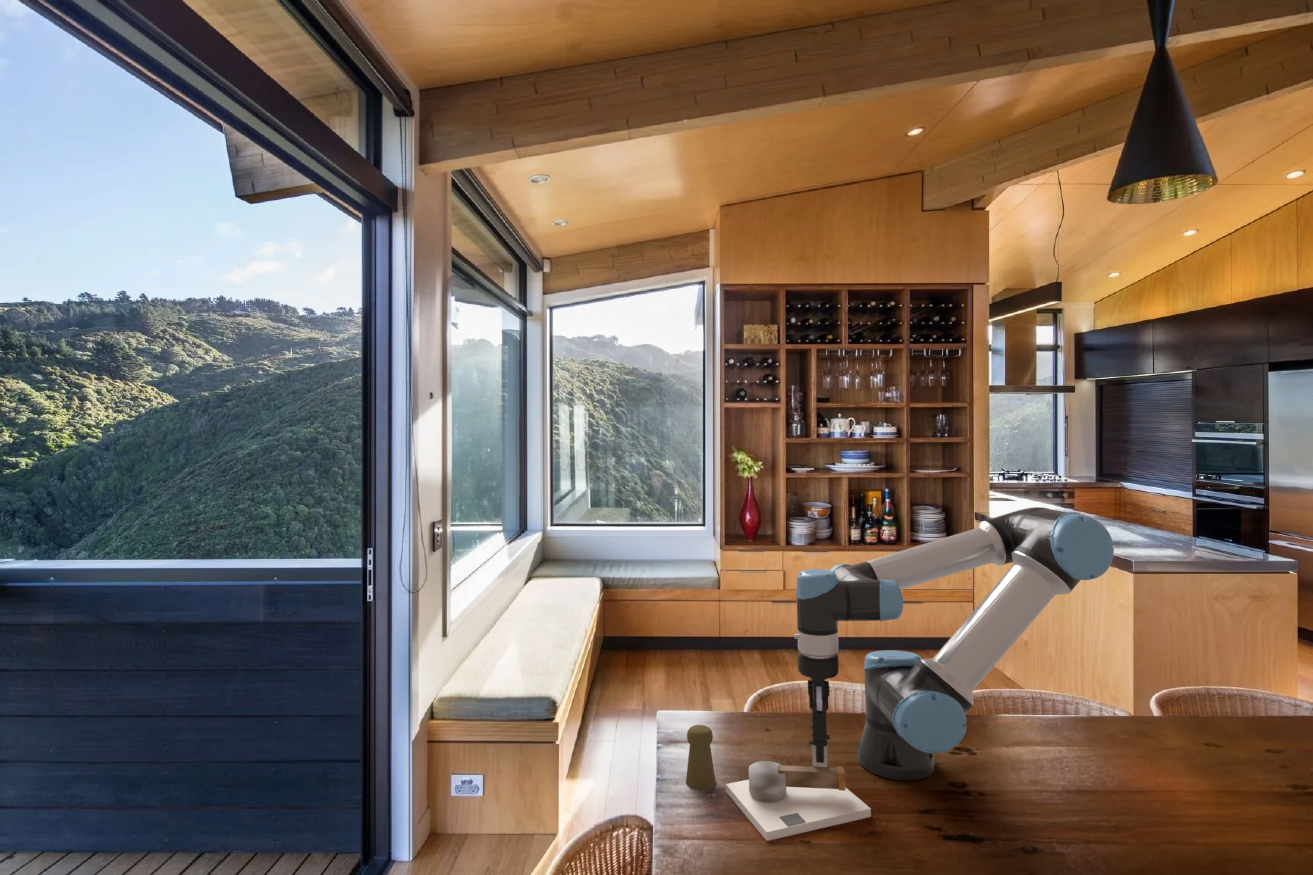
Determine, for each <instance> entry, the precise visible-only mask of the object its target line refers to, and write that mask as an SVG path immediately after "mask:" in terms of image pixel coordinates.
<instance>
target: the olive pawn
mask: <svg viewBox="0 0 1313 875" xmlns="http://www.w3.org/2000/svg"><path fill="white" fill-rule="evenodd" d="M713 738H714V736H713V730H712V729H711V728H710V727H708V726H707V725H705V724H694V725H692V726H690V727H689V728H688V730H687V732H686V739H687V743H688V744H689V749H688V750H689V751H688V759H687V769H686V777H685V785H686V786H687V787H689V788H691V789H693V790H695V791H696V790H697V791H705V790H710V789H712V788H713V787H714V786H715V785H716V783H717V780H716V775H715V769H714V762H713V754H712V748H711V744H712V742H713Z"/></svg>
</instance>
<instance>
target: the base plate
mask: <svg viewBox="0 0 1313 875" xmlns="http://www.w3.org/2000/svg"><path fill="white" fill-rule="evenodd" d="M725 792H726V794H727V795H728V796H729V797H730V799H731V800H732V801H733V802H734V804H736V806H737V807H738V808H739V809H740V810H741V812H742V813H743V814H744V815H745V816H746V818H747V819H748V821H750V823H752V825H753V826H754V827H755V829H756V830H757V831H758V832H759V833H760V835H761V836H762V837H763V838H764V839H765V841H767V842H768V841H772V840H777V839H781V838H785V837H790V836H794V835H799V834H802V833H807V832H811V831H816V830H820V829H824V828H828V827H833V826H838V825H841V824H846V823H851V822H854V821H859V820H863V819H867V818H871V817H872V808H871V807H869V806H868V804H866V803H865V802H863V800H861V799H860V798H859V797H857V795H855V794H854V793H853V792H852V791H851V790H850V789H848V788H847V787H846V786H845V791H843V790H839V789H824V788H802V787H786V796H785V797H784V798H782V799H780V800H776V801H764V800H760V799H757V798H755V797H753V796H752V795H751V794H750V792H749V779H743V780H741V781H735V782H730V783H726V784H725Z"/></svg>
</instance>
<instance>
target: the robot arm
mask: <svg viewBox="0 0 1313 875" xmlns="http://www.w3.org/2000/svg"><path fill="white" fill-rule="evenodd" d="M1114 553H1115V547H1113V538H1112V536H1111V534H1110V532H1109V531H1108V529H1107V527H1105V526H1104V524H1102V523H1101V522H1100V521H1099V520H1098V519H1095V518H1093V517H1091V516H1088V515H1084V514H1082V513H1080V512H1075V511H1069V512H1068V511H1062V510H1057V509H1053V508H1046V507H1037V506H1036V507H1029V508H1028V507H1027V508H1022V509H1019V510H1015V511H1011V512H1009V513H1004V514H1001V515H1000V516H996V517H993V518H989V519H986V520H982V521H980V522H979V523H978V525H977V528H973V529H970V530H966V531H963V532H960V533H959V532H958V533H957V534H952V535H950V536H946V537H944V538H940V539H936V540H933V541H930V542H927V543H923V544H919V545H916V546H914V547H909V548H907V549H903V550H900V551H896V552H894V553H890V554H886V555H882V556H881V557H876V558H874V559H873V558H872V559H870V560H867V561H863V562H859V563H856V564H848V563H839V564H836V565H834V566H833V567H831V568H830V569H826V568H825V569H821V568H809V569H804V570H801V571H800V572H799V573H798V574H797V577H796V590H795V592H796V593H795V596H796V617H797V618H796V619H797V620H796V622H797V623H796V624H797V626H796V627H797V628H796V629H797V633H795V634H794V635H793V638H794V639H795V640H797V649H798V653H797V671H798V672H799V673H800V675H802V676H804V677H806V678H810V679H807V694H808V697H809V708H810V709H811V711H812V712H811V713H812V714H811V716H812V717H811V718H812V723H811V725H812V726H811V730H812V733H811V736H812V738H809V739H808V744H809V745H811V746H812V748H811V749H812V750H811V751H812V767H828V740H831V736H830V734H827V733H828V732H827V710H829V696H830V693H831V692H830V684H829V683H830V682H829V680H828V679H832V678H835V677H837V675H838V674H839V672H840V670H839V655H838V654H837V653H838V652H839V628H838V626H839V625H838V624H839V622H859V621H860V622H869V621H870V622H871V621H873V622H874V621H876V622H877V621H880V622H884V621H893V620H894V621H895V620H898V619H899V618H900V617H901V616H902V613H903V609H904V597H903V593H902V590H905V589H907V588H908V589H909V588H911V587H915V586H917V585H918V586H919V585H921V584H924V583H927V582H931V581H935V580H938V579H942V578H945V577H949V576H951V575H955V574H958V573H962V572H966V571H968V570H972V569H975V568H978V567H982V566H987V565H989V564H994V565H995V566H999V567H1000V566H1004V565H1006V564H1007V565H1008V564H1012V563H1013V564H1012V565H1011V566H1010V568H1009V569H1008V570H1007V571H1006V573H1005V574H1004V575H1003V576H1002V577H1001V578H1000V580H999V581H998V582H997V583H996V584H995V586H993V587H992V589H991V590H990V591H989V593H988V594H987V595H986V596H985V597H984V598H983V599H982V600H981V602H980V603H979V604H978V605H977V606H976V608H974V610H973V611H972V612H971V613H970V614H969V616H968V617H967V618H966V619H965V620H964V621H963V623H962V624H961V625H960V626H959V627H958V628H957V630H956V631H955V632H954V633H953V634H952V635H951V636H950V638H949V639H948V640H947V641H946V643H944V645H942V647H941V648H940V650H938V652H937V653H936V654H935V655H934V656H933V657H931V658H922V656H921V655H920V654H917V653H915V652H911V651H903V650H895V649H894V650H892V649H891V650H889V649H888V650H886V649H885V650H875V651H871V652H869V653H867V654H866V655H865V658H864V665H863V666H864V667H863V671H864V673H863V674H864V702H865V704H864V705H865V707H864V710H865V724H864V727H863V730H862V734H861V738H860V742H859V744H858V746H857V761H858V762H859V765H861V766H862V767H863V768H864V769H865V770H867V771H868V772H870V773H872V774H874V775H877V776H879V777H883V778H886V779H891V780H897V781H917V780H922V779H925V778H927V777H930V776H931V775H932V774H933V773H934V770H935V757H934V754H941V753H945V752H947V751H950V750H952V749H954V748H955V747H956V746H957V745H958V744H960V743H961V741H962V740H963V738H964V737H965V734H966V731H967V725H966V723H967V716H966V715H967V713H968V712H969V711H970V710H971V709H972V707H973V706H974V705H975V703H974V702H975V701H974V695H973V694H974V693H973V692H974V690H975V689H976V688H977V687H978V686H979V685H980V684H981V683H982V681H983V680H984V679H985V677H987V675H988V674H989V673H990V672H991V671H992V670H993V668H994V667H996V665H997V663H999V661H1000V660H1001V659H1002V658H1003V657H1004V655H1006V653H1007V652H1008V651H1009V649H1011V647H1012V646H1013V645H1014V644H1015V643H1016V641H1018V639H1019V638H1020V637H1021V636H1022V635H1023V633H1025V631H1026V630H1027V629H1028V627H1030V625H1032V623H1033V622H1034V620H1035V619H1036V618H1037V617H1038V616H1039V615H1040V613H1041V612H1043V610H1044V609H1045V608H1046V606H1047V605H1048V604H1049V603H1050V602H1051V601H1052V599H1054V597H1055V596H1057V595H1069V594H1070V593H1071V592H1072V591H1073V589H1075V587H1077V585H1078V584H1079V583H1080V582H1081V581H1090V580H1095V579H1097V578H1100V577H1101V576H1103V575H1104V574H1105V573H1106V572H1107V571H1108V569H1109V568H1110V567H1111V565H1112V562H1113V561H1114V560H1113V559H1114Z"/></svg>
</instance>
